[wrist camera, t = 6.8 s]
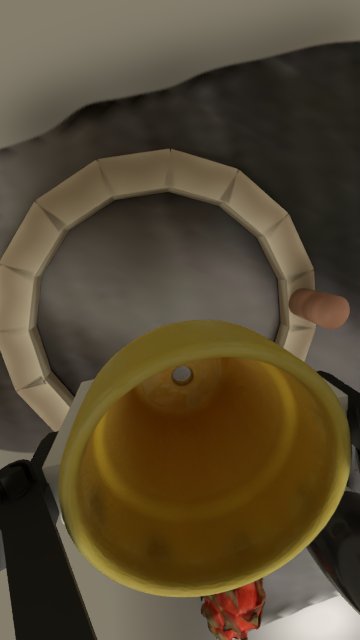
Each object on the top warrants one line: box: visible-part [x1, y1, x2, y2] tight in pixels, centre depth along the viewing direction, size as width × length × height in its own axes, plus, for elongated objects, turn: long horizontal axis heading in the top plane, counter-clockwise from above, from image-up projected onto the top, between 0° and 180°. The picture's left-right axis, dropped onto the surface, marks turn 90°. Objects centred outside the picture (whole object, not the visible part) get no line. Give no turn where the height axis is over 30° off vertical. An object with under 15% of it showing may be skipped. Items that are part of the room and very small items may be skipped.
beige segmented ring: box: [0, 149, 350, 432], centre depth 26 cm, size 32×32×7 cm
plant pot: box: [58, 320, 352, 597], centre depth 14 cm, size 10×10×10 cm
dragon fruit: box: [201, 578, 266, 640], centre depth 37 cm, size 8×8×12 cm
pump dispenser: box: [306, 486, 360, 614], centre depth 32 cm, size 10×10×15 cm
